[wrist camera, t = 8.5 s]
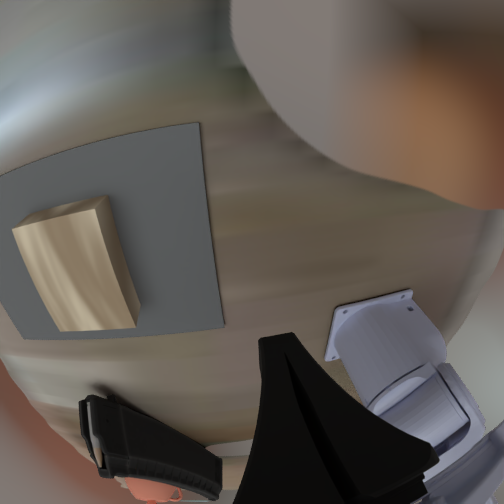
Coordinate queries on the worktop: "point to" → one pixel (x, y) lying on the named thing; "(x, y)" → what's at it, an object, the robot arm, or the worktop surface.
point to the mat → (123, 229)
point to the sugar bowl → (151, 490)
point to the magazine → (146, 448)
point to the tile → (79, 266)
